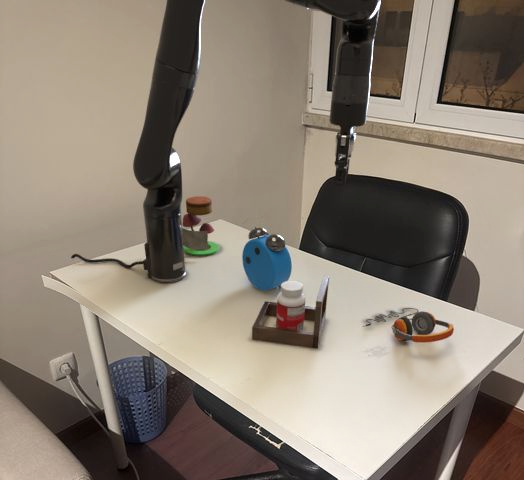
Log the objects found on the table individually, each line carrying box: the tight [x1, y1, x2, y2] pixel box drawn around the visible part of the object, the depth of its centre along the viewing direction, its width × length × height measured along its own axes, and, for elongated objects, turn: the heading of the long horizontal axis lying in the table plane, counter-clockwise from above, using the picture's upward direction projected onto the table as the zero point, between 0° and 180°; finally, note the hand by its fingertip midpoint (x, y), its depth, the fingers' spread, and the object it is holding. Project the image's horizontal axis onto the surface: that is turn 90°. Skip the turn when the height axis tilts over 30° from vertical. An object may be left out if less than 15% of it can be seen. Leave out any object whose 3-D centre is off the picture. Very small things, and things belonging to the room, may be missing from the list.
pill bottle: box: [275, 280, 306, 331], centre depth 110 cm, size 6×6×11 cm
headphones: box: [362, 307, 455, 343], centre depth 111 cm, size 17×5×20 cm
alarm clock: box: [241, 226, 293, 292], centre depth 127 cm, size 13×6×15 cm, turn 39°
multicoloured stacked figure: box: [182, 195, 220, 257], centre depth 148 cm, size 12×13×15 cm
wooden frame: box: [251, 275, 330, 349], centre depth 110 cm, size 14×12×11 cm
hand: (341, 180), depth 112 cm, fingers open, 8 cm apart
